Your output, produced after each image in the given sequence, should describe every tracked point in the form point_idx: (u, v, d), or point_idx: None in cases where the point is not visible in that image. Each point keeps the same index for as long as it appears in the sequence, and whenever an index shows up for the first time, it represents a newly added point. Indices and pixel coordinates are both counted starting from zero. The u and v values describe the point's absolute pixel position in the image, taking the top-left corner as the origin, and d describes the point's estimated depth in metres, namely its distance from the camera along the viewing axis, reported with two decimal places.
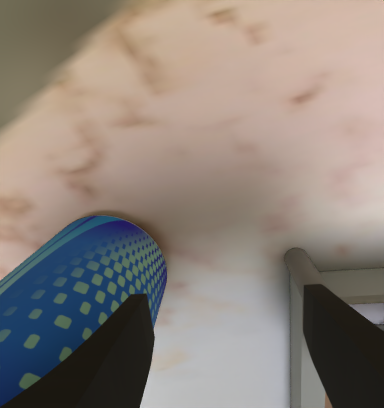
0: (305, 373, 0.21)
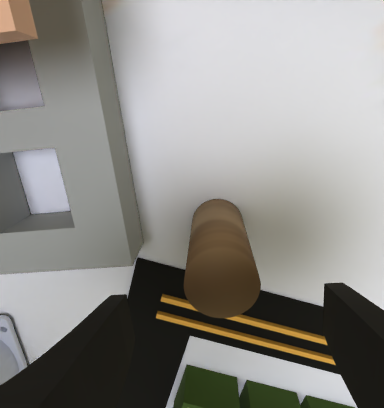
0: None
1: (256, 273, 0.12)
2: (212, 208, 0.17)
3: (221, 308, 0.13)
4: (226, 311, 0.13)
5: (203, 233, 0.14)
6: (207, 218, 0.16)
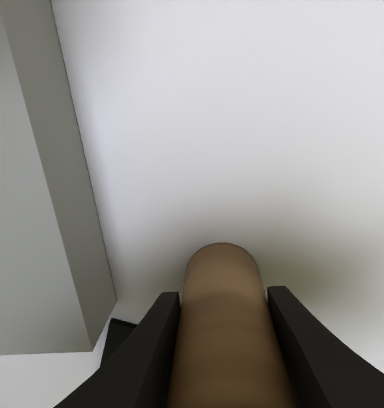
0: None
1: None
2: (214, 263, 0.11)
3: None
4: None
5: (199, 324, 0.08)
6: (208, 288, 0.10)
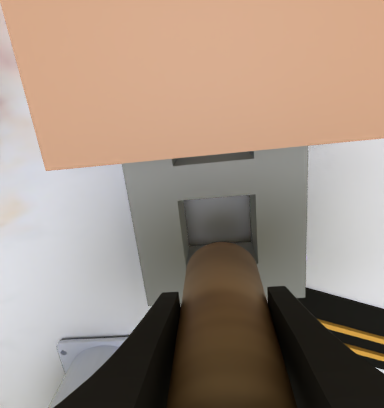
0: (131, 191, 0.17)
1: None
2: (212, 262, 0.11)
3: None
4: None
5: (196, 323, 0.08)
6: (205, 287, 0.10)
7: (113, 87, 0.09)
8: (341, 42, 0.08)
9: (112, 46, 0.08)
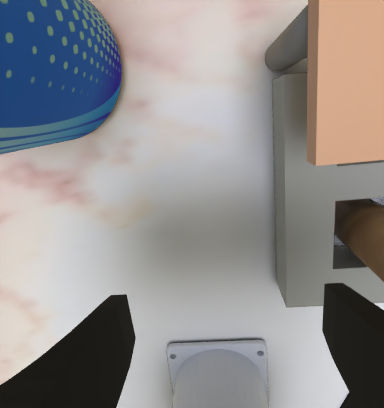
0: (290, 191, 0.17)
1: None
2: (359, 201, 0.18)
3: None
4: None
5: (376, 222, 0.15)
6: (366, 210, 0.17)
7: None
8: None
9: None
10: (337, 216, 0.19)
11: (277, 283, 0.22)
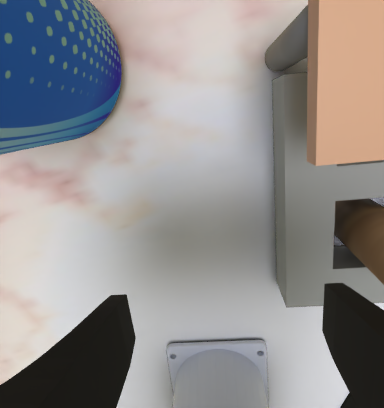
0: (290, 191, 0.17)
1: None
2: (359, 201, 0.18)
3: None
4: None
5: (376, 223, 0.15)
6: (366, 211, 0.17)
7: None
8: None
9: None
10: (337, 216, 0.19)
11: (277, 283, 0.22)
